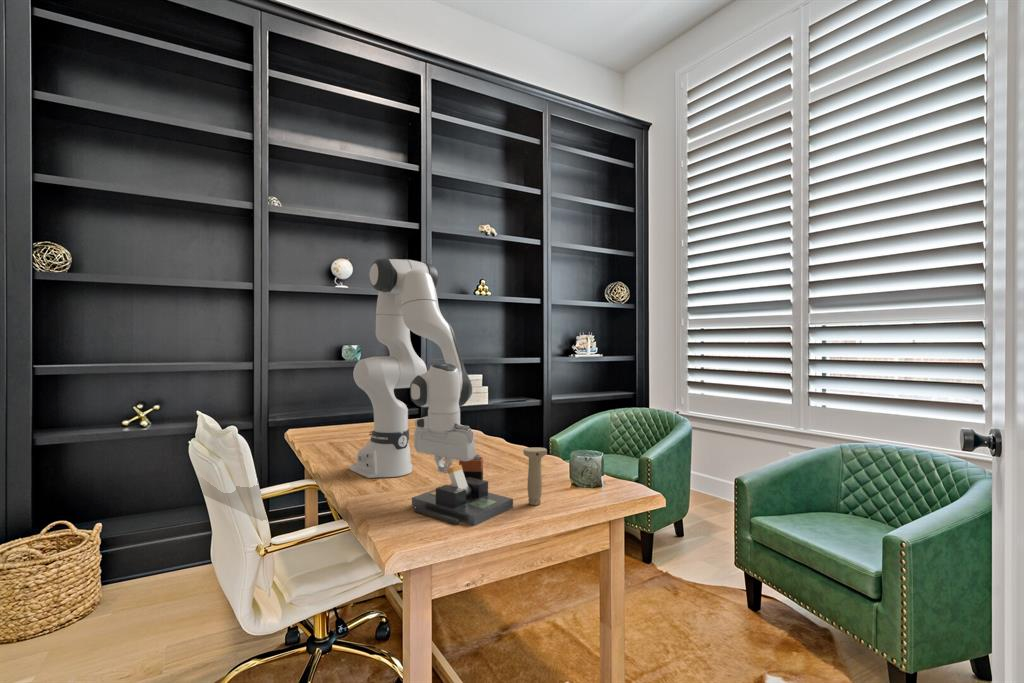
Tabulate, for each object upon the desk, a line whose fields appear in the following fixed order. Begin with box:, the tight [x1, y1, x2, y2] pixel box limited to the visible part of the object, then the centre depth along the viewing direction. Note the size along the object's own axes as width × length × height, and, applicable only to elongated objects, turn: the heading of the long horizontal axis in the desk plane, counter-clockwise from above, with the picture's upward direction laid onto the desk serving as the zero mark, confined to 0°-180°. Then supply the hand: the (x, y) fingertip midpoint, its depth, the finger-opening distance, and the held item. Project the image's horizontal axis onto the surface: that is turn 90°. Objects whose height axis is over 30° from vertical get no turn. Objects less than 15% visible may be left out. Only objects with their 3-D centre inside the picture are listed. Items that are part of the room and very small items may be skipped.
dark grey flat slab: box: [413, 507, 460, 525], centre depth 132 cm, size 15×21×1 cm
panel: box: [411, 477, 514, 526], centre depth 132 cm, size 22×16×6 cm
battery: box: [458, 454, 484, 480], centre depth 149 cm, size 4×7×10 cm, turn 86°
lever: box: [447, 464, 471, 496], centre depth 133 cm, size 2×4×8 cm, turn 144°
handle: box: [523, 446, 548, 506], centre depth 135 cm, size 5×6×15 cm
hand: (443, 472), depth 136 cm, fingers closed
